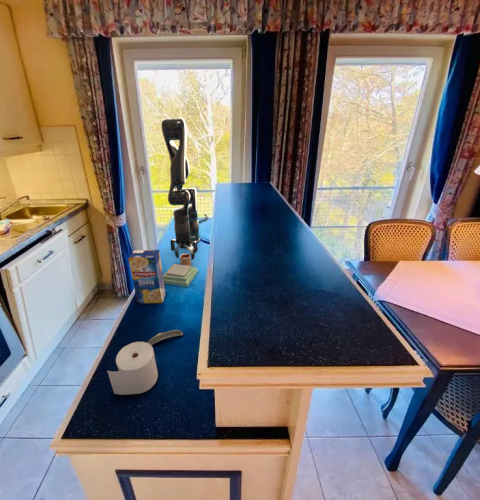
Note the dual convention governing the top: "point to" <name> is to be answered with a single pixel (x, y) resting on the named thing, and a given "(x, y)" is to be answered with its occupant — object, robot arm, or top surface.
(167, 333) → the ceramic fragment
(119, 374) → the toilet tissue
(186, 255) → the terracotta cup
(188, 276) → the light green stepped block
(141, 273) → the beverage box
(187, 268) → the beige square slab
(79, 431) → the top surface
